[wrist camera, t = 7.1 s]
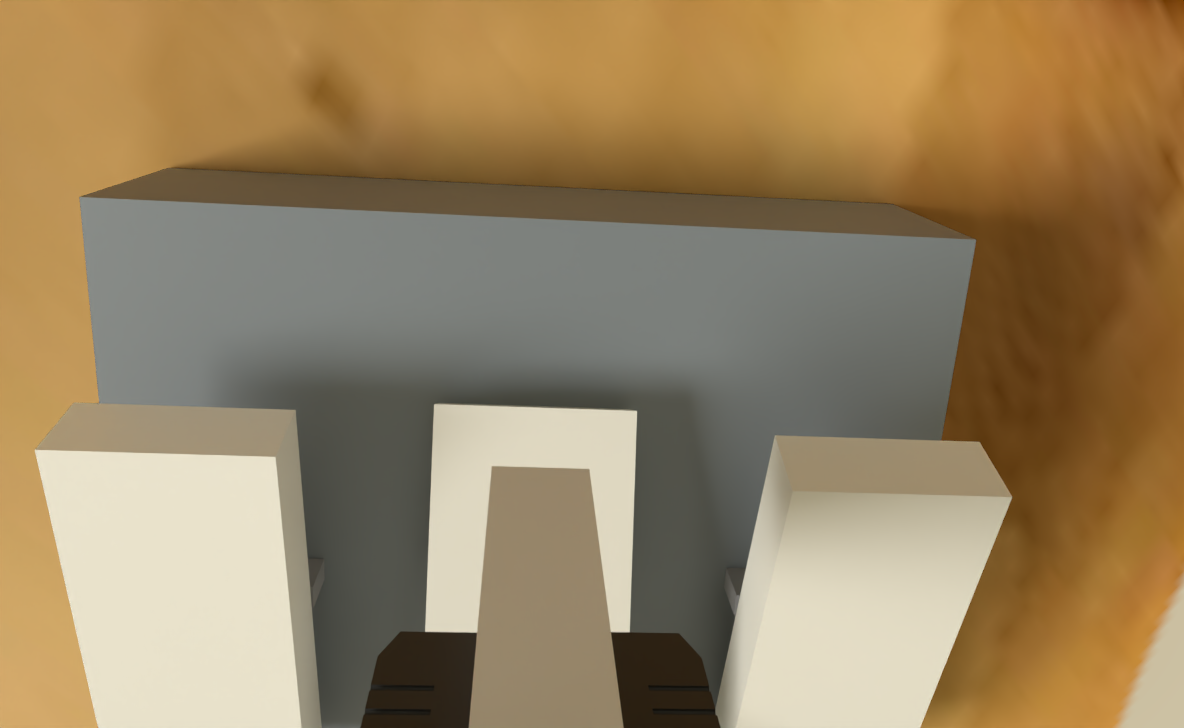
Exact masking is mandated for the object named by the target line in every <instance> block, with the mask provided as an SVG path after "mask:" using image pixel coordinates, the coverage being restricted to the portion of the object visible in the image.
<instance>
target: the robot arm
mask: <svg viewBox="0 0 1184 728" xmlns="http://www.w3.org/2000/svg"><path fill="white" fill-rule="evenodd" d="M715 710H716V709H715V705H714V702H713V698H712V694H711V692H709V683H708V679H707V676H706V672H705V668H704V665H703V661H702V658H701V657H700V655H699V654H698V653H697V652H696V651H695V650H694V649H693V648H692V647H691V646H690V645H689V644H688V642H687V641H686V640H685V639H684V638H683V637H682V636H681V635H680V634H679V633H638V632H611V629H610V621H609V614H608V606H607V599H606V591H605V584H604V576H603V569H602V561H601V554H600V546H599V538H598V531H597V523H596V516H595V508H594V501H593V493H592V486H591V478H590V470H589V469H575V468H541V467H506V466H492V469H491V481H490V492H489V503H488V515H487V526H486V537H485V549H484V560H483V572H482V583H481V594H480V606H479V617H478V628H477V633H469V632H408V631H400V632H399V634H398V635H397V636H396V637H395V638H394V639H393V640H392V641H391V642H390V643H389V644H388V645H387V647H386V648H385V649H384V650H383V651H382V652H381V653H380V654H379V655H378V657H377V661H376V665H375V669H374V674H373V678H372V682H371V689H370V690H369V694H368V698H367V702H366V707H365V715H363V719H362V723H361V727H360V728H720V724H719V720H718V716H717V715H716V713H715Z"/></svg>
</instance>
